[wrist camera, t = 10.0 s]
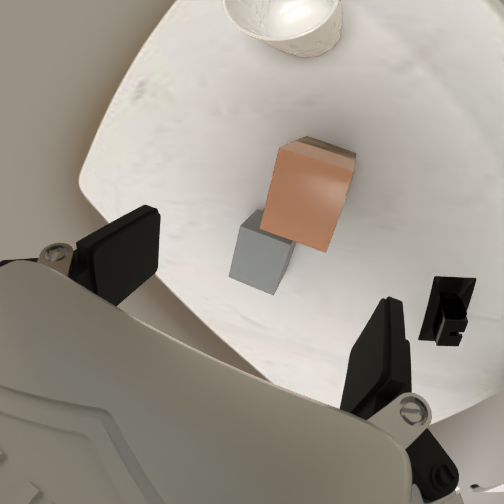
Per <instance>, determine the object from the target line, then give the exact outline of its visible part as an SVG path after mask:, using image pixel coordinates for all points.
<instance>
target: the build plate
mask: <svg viewBox="0 0 504 504" xmlns="http://www.w3.org/2000/svg"><path fill="white" fill-rule="evenodd" d="M475 283H476V278H462V277H441V276H435V277H434V280H433V285H432V289H431V294H430V298H429V302H428V306H427V310H426V314H425V317H424V321H423V325H422V328H421V331H420V335H419V338H418V340H426V341H435V342H436V345H437V346H459V344H460V341H461V339H462V334H459V332H464V331H465V329H466V326H467V323H468V320H467V317H466V315H467V312H466V311H467V309H468V306H469V302H470V299H471V296H472V293H473V290H474V286H475Z"/></svg>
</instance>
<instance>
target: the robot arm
mask: <svg viewBox="0 0 504 504" xmlns="http://www.w3.org/2000/svg"><path fill="white" fill-rule="evenodd" d="M160 218H161V216H160V214H159V213H158V210H157V209H156V208H153V207H151V206H148V205H143V206H141V207H139V208H137V209H135V210H133V211H132V212H130V213H128V214H126V215H124V216H122V217H120V218H118V219H117V220H115V221H113V222H111V223H109V224H108V225H106V226H104V227H102V228H100V229H99V230H97V231H95V232H93V233H92V234H90V235H88V236H86V237H85V238H83V239H81V240H80V241H78V242H77V243H76V246H77V249H76V250H75V251H73V248H72V247H71V246H70V245H69V244H65V243H54V244H51V245H49V246H47V247H45V248H44V249H43V250H42V251H41V253H40V255H39V258H31V259H17V260H3V261H1V262H0V504H464V503H463V500H462V497H461V495H460V493H459V494H456V492H455V488H456V487H457V485H458V481H459V473H458V469H457V468H456V466H455V464H454V463H453V461H452V460H451V459H450V457H449V456H448V455H447V453H446V452H445V451H444V449H443V448H442V447H441V445H440V444H439V443H438V441H437V440H436V439H435V437H434V436H433V435H432V434H431V432H430V431H429V430H428V428H427V427H428V426H429V424H430V423H431V419H432V413H431V409H430V407H429V405H428V403H427V402H426V400H424V399H423V398H422V397H421V396H419V395H417V394H415V393H412V384H411V357H410V343H409V341H408V340H406V339H405V325H404V313H403V303H402V301H400V300H397V299H394V298H392V297H387V299H384V298H382V299H381V301H380V302H379V304H378V306H377V308H376V309H375V311H374V313H373V314H372V316H371V318H370V320H369V321H368V323H367V325H366V326H365V328H364V330H363V331H362V333H361V335H360V336H359V338H358V339H357V341H356V343H355V344H354V346H353V348H352V350H351V353H350V357H349V363H348V369H347V374H346V380H345V385H344V390H343V395H342V400H341V405H340V409H338V408H335V407H333V406H330V405H327V404H325V403H322V402H319V401H317V400H314V399H311V398H308V397H306V396H303V395H300V394H298V393H295V392H293V391H290V390H288V389H285V388H283V387H280V386H278V385H275V384H273V383H270V382H268V381H265V380H263V379H260V378H258V377H256V376H253V375H251V374H249V373H246V372H244V371H241V370H239V369H237V368H235V367H233V366H230V365H228V364H226V363H224V362H222V361H219V360H217V359H215V358H213V357H211V356H208V355H206V354H204V353H202V352H200V351H198V350H196V349H194V348H192V347H190V346H188V345H186V344H184V343H182V342H180V341H178V340H176V339H174V338H172V337H170V336H168V335H166V334H165V333H163V332H161V331H159V330H157V329H155V328H153V327H151V326H149V325H148V324H146V323H144V322H142V321H140V320H139V319H137V318H135V317H133V316H132V315H129V314H128V313H126V312H125V311H123V310H121V309H119V308H117V307H116V306H117V305H118V304H120V303H121V302H122V301H123V300H124V299H125V298H127V297H128V296H129V295H130V294H131V293H132V292H134V291H135V290H136V289H137V288H138V287H139V286H140V285H142V284H143V283H144V282H145V281H146V280H147V279H149V278H150V277H151V276H152V275H154V274H155V272H156V271H157V268H158V255H159V234H160Z"/></svg>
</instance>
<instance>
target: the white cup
mask: <svg viewBox="0 0 504 504" xmlns="http://www.w3.org/2000/svg"><path fill="white" fill-rule="evenodd" d="M222 6H223V9H224V12H225V14H226V16H227V18H228V19H229V21H230V22H231V23H232V24H233V25H234V26H235V27H236V28H237V29H239V30H240V31H242V32H243V33H245V34H247V35H249V36H251V37H254V38H256V39H258V40H260V41H262V42H264V43H266V44H268V45H270V46H272V47H275V48H277V49H279V50H282V51H284V52H287V53H290V54H293V55H296V56H299V57H315V56H319V55H321V54H323V53H325V52H327V51H329V50H331V49H332V48H333V47H334V45H335V44H336V43H337V41H338V40H339V39H340V34H341V26H342V7H341V0H222Z"/></svg>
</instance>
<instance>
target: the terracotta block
mask: <svg viewBox="0 0 504 504" xmlns="http://www.w3.org/2000/svg"><path fill="white" fill-rule="evenodd" d="M354 169H355V160H354V159H351V158H348V157H345V156H342V155H339V154H336V153H333V152H330V151H327V150H324V149H321V148H318V147H314V146H311V145H308V144H305V143H301V142H298V141H294V142H291V143H289V144H287V145H285V146H282V147H280V148H279V151H278V155H277V159H276V163H275V167H274V171H273V176H272V180H271V184H270V188H269V192H268V196H267V200H266V205H265V209H264V213H263V217H262V221H261V225H260V229H262V230H265V231H267V232H270V233H273V234H276V235H279V236H281V237H284V238H287V239H290V240H293V241H295V242H298V243H301V244H304V245H306V246H309V247H312V248H315V249H317V250H320V251H323V252H326V251H327V249H328V246H329V243H330V241H331V238H332V235H333V232H334V230H335V227H336V224H337V221H338V219H339V216H340V213H341V210H342V207H343V204H344V201H345V198H346V195H347V192H348V189H349V186H350V183H351V180H352V177H353V174H354Z"/></svg>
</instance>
